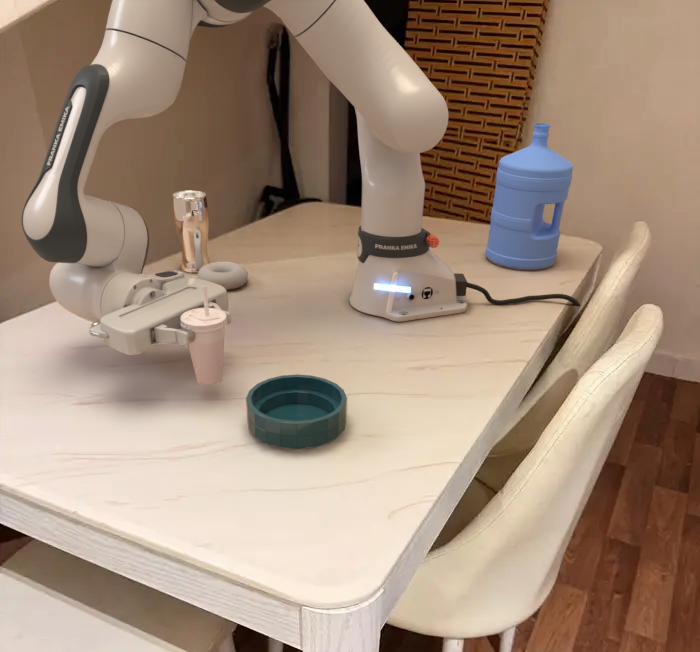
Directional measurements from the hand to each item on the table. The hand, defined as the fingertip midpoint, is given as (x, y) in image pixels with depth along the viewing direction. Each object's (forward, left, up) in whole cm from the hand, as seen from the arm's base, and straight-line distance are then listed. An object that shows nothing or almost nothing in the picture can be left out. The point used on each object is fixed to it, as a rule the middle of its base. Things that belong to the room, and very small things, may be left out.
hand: (209, 328), depth 97 cm
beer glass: (+1, -56, -11) cm, 57 cm away
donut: (-4, -46, -11) cm, 48 cm away
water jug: (-71, -52, -11) cm, 89 cm away
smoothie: (+1, -1, -8) cm, 8 cm away
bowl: (-10, +11, -10) cm, 18 cm away
